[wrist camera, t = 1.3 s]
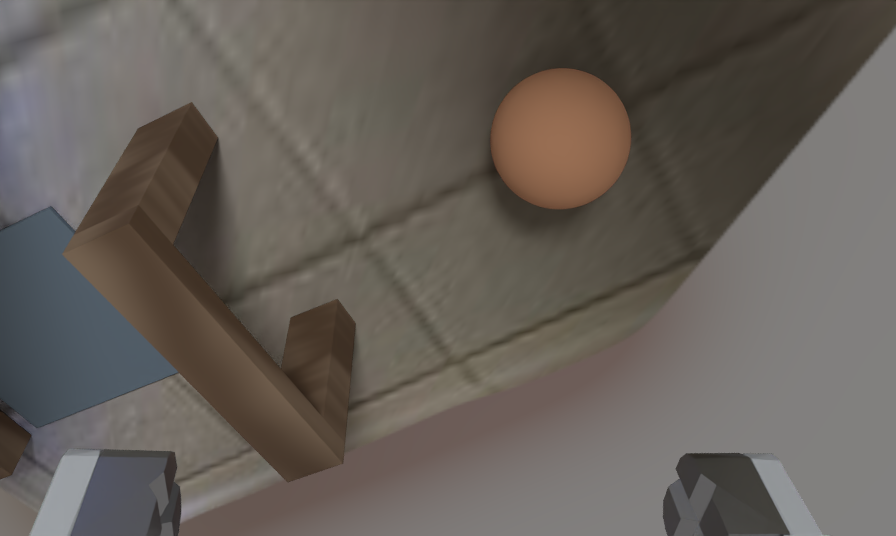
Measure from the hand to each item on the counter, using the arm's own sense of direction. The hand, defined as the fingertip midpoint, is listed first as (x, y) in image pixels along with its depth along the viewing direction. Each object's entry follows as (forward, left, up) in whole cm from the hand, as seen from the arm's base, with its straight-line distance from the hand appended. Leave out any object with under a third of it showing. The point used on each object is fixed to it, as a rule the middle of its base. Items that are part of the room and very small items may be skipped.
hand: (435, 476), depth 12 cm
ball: (-3, +8, -22) cm, 23 cm away
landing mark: (+27, +8, -25) cm, 37 cm away
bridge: (+13, +8, -25) cm, 29 cm away
